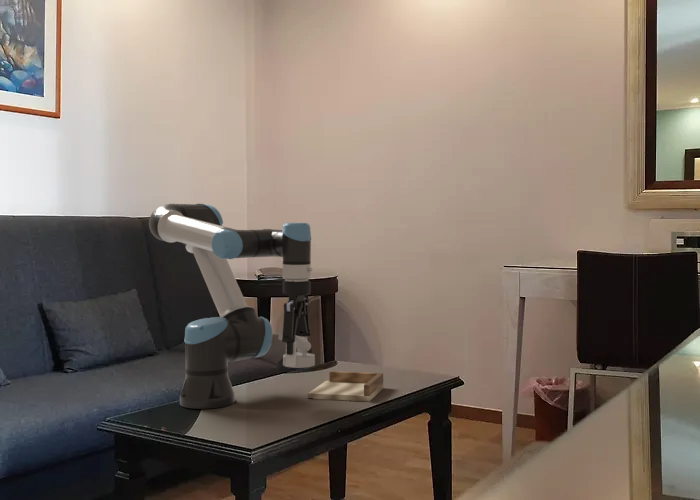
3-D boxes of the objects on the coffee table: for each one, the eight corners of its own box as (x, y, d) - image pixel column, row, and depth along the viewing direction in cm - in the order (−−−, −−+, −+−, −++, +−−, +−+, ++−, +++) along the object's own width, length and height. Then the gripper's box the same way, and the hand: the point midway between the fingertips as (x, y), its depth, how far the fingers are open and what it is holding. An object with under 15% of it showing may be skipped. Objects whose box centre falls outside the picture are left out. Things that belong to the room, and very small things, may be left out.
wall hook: (283, 326, 209) (318, 327, 207) (283, 360, 209) (318, 362, 207) (273, 331, 200) (310, 332, 198) (274, 366, 201) (310, 368, 199)
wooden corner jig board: (308, 398, 215) (307, 382, 215) (326, 385, 232) (326, 370, 232) (369, 401, 210) (369, 385, 210) (383, 387, 228) (383, 373, 227)
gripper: (296, 283, 192) (296, 371, 193) (321, 277, 212) (321, 356, 213) (269, 282, 194) (269, 370, 195) (296, 276, 214) (296, 355, 215)
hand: (296, 363), depth 204 cm, fingers closed on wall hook, 9 cm apart
